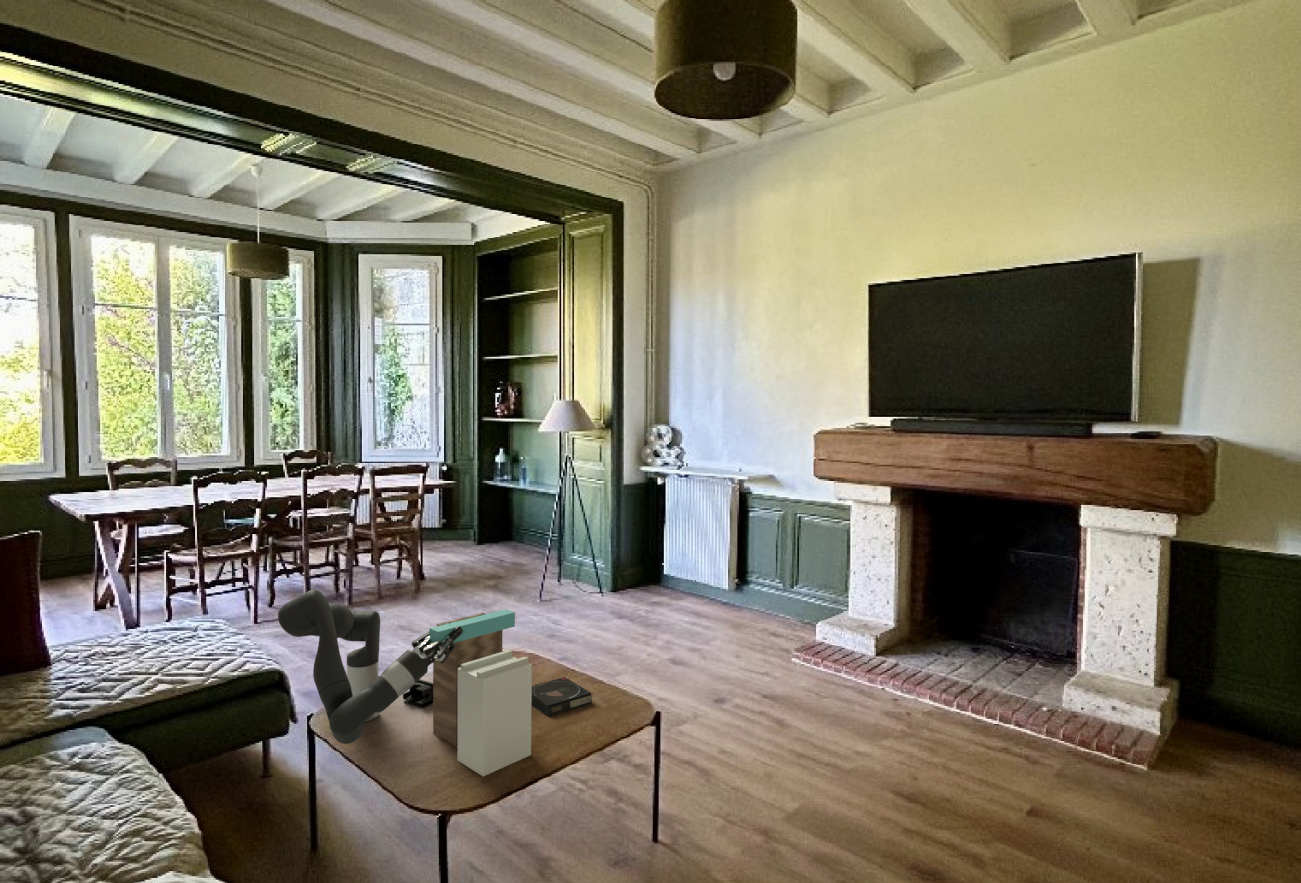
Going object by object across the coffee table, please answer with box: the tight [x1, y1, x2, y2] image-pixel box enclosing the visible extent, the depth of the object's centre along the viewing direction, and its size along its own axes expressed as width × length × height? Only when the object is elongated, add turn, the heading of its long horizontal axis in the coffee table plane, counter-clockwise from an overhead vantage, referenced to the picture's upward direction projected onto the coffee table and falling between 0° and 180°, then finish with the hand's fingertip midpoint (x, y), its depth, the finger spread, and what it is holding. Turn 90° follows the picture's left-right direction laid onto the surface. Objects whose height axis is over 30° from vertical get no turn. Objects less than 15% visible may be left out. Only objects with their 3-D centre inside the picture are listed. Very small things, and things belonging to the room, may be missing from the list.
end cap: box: [402, 679, 433, 710], centre depth 236 cm, size 10×7×7 cm
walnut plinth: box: [432, 612, 504, 748], centre depth 216 cm, size 16×12×34 cm
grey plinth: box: [456, 649, 533, 777], centre depth 200 cm, size 16×12×28 cm
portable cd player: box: [531, 676, 593, 717], centre depth 239 cm, size 16×17×4 cm
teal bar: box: [428, 608, 516, 647], centre depth 194 cm, size 24×4×4 cm, turn 138°
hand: (455, 626), depth 189 cm, fingers closed on teal bar, 4 cm apart
